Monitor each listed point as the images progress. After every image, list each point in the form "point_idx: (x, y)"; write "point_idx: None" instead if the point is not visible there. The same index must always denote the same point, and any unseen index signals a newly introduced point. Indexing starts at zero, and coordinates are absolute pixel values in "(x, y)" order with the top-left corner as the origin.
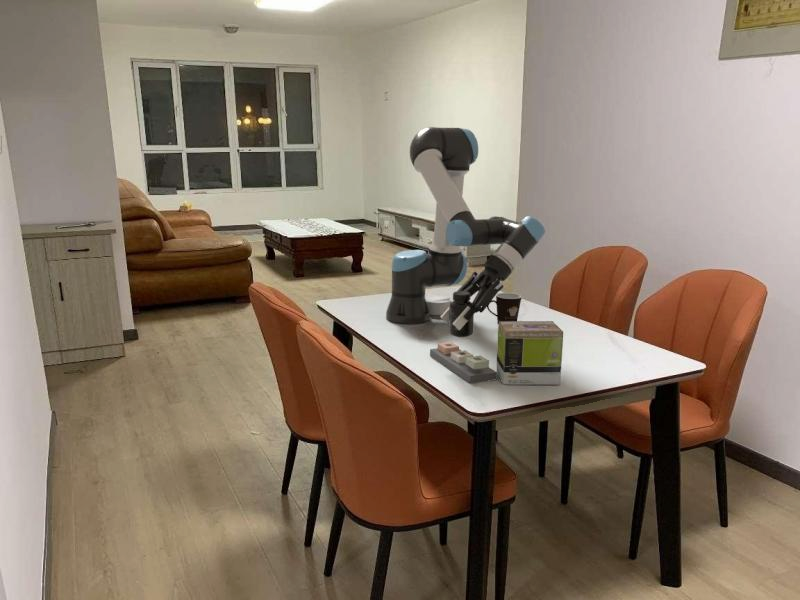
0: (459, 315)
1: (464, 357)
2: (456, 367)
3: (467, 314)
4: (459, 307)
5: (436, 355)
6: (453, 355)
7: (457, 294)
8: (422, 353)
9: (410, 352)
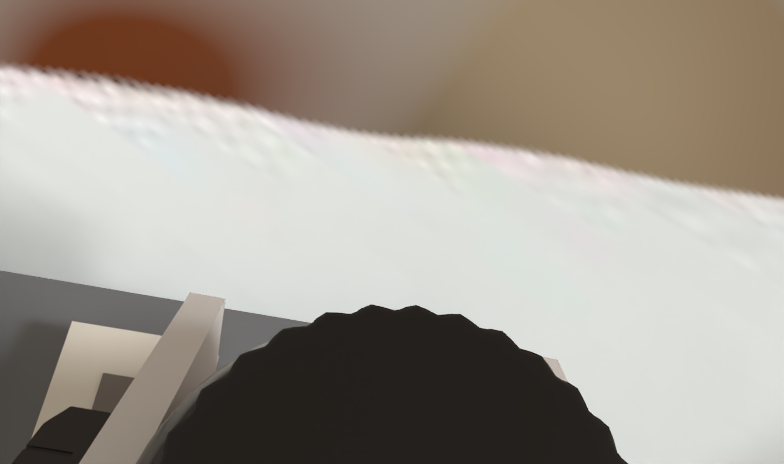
0: (183, 376)
1: (57, 376)
2: (49, 280)
3: (39, 453)
4: (210, 379)
5: None
6: None
7: (350, 359)
8: (531, 347)
9: (579, 288)
